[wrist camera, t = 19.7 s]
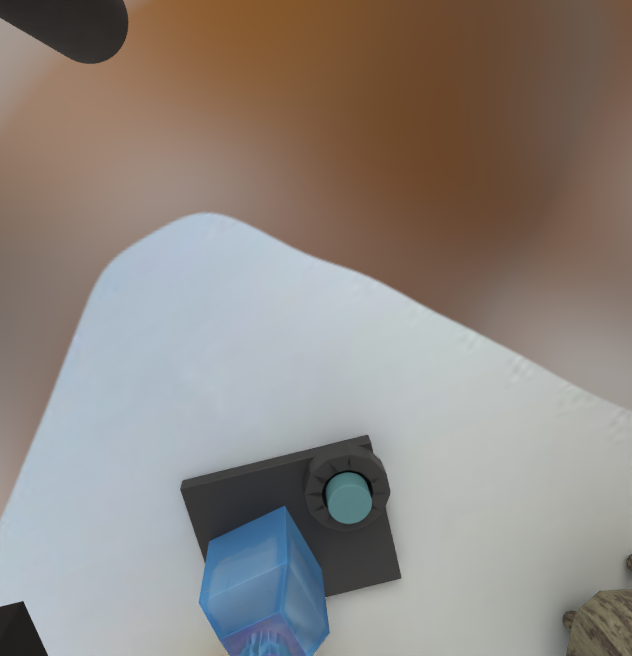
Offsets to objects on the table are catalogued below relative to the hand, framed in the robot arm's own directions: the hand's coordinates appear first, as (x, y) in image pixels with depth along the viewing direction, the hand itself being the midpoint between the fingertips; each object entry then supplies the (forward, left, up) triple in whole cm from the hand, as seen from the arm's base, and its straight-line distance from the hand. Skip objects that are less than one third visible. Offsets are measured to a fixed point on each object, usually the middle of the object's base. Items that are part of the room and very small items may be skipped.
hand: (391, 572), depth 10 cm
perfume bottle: (+19, -8, -28) cm, 34 cm away
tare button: (+14, -1, -26) cm, 30 cm away
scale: (+18, -5, -29) cm, 34 cm away
